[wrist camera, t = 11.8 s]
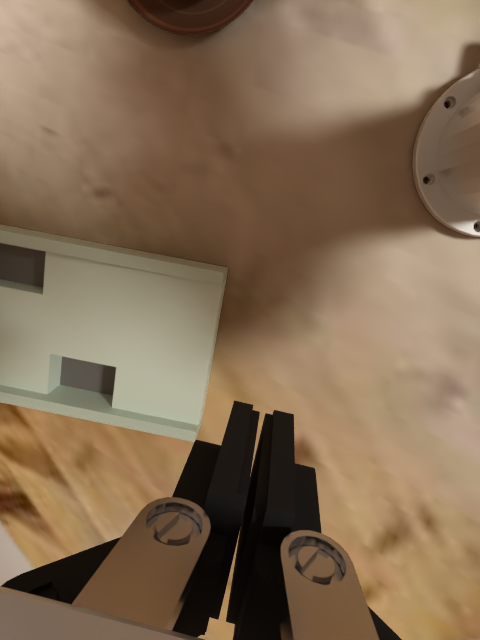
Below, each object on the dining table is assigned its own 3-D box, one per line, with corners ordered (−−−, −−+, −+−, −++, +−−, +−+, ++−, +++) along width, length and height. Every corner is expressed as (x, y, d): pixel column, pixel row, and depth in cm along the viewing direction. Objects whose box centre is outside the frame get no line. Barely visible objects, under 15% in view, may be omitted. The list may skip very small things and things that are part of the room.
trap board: (228, 267, 37) (223, 272, 33) (201, 422, 40) (194, 442, 37) (-58, 213, 37) (-93, 212, 34) (-59, 369, 41) (-91, 383, 38)
